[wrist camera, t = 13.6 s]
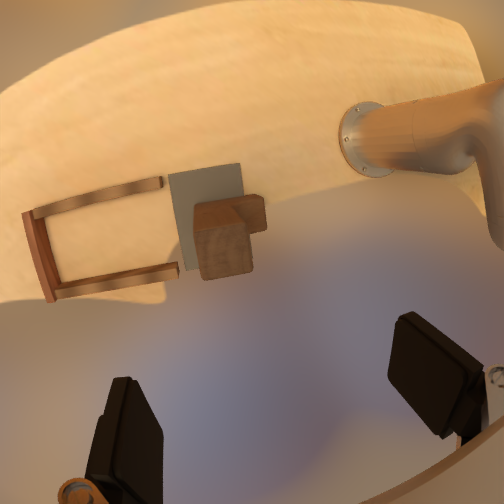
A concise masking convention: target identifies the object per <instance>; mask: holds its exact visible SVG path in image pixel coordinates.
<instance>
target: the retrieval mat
mask: <svg viewBox="0 0 504 504" xmlns="http://www.w3.org/2000/svg"><path fill="white" fill-rule="evenodd" d="M168 178H169V185H170V191H171V196H172V202H173V208H174V213H175V219H176V224H177V229H178V235H179V240H180V245H181V249H182V254H183V259H184V264H185V268H186V271H187V270H192V269H198V268H199V264H198V259H197V253H196V248H195V243H194V238H193V216H194V205H195V204H197V203H203V202H209V201H215V200H221V199H227V198H233V197H239V196H244V191H243V184H242V176H241V169H240V163H236V164H229V165H222V166H216V167H209V168H203V169H197V170H192V171H186V172H181V173H175V174H170V175H168ZM249 239H250V235H249ZM250 246H251V242H250ZM251 254H252V249H251ZM252 258H253V256H252Z"/></svg>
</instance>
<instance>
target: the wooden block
mask: <svg viewBox="0 0 504 504" xmlns="http://www.w3.org/2000/svg"><path fill="white" fill-rule="evenodd" d="M266 229H267V222H266V214H265V206H264V199H263V197H261V196H259V195H256V194H252V195H245V196H239V197H233V198H227V199H221V200H215V201H209V202H203V203H197V204H195V205H194V216H193V238H194V243H195V248H196V253H197V259H198V264H199V269H200V274H201V278H202V279H203V280H213V279H218V278H224V277H229V276H234V275H239V274H245V273H250V272H252V271H253V261H252V254H251V246H250V239H249V234H252V233H256V232H261V231H265V230H266Z"/></svg>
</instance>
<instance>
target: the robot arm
mask: <svg viewBox="0 0 504 504" xmlns="http://www.w3.org/2000/svg"><path fill="white" fill-rule="evenodd" d="M344 139H345V141H344ZM339 141H340V146H341V150H342V152H343V154H344V157H345V158H346V160H347V162H348V163H349V164H350V165H351V167H352V168H353V169H355V170H356V171H357V172H358V173H360V174H362V175H364V176H368V177H374V178H378V177H384V176H387V175H389V174H390V173H392V172H393V171H394V170H395V169H396V170H408V171H418V172H428V173H436V174H444V175H454V174H458V173H460V172H463V171H464V170H466V169H467V168H468V167H470V166H471V165H472V164H473V163H474V161H475V160H476V162H477V166H478V170H479V175H480V177H481V182H482V188H483V194H484V201H485V208H486V216H487V223H488V229H489V233H490V236H491V238H492V240H493V242H494V243H495V244H496V246H497V247H499V248H500V249H501V250H503V251H504V79H498V80H494V81H490V82H488V83H484V84H481V85H479V86H476V87H473V88H470V89H467V90H463V91H460V92H456V93H451V94H447V95H442V96H436V97H431V98H425V99H420V100H415V101H410V102H405V103H400V104H395V105H391V106H386V107H384V106H383V105H381V104H378V103H375V102H362V103H359V104H356V105H354V106H353V107H351V108H350V109H349V110H348V111H347V112H346V113H345V115H344V117H343V119H342V121H341V124H340V129H339ZM362 168H363V170H362ZM483 367H484V365H483V364H481V363H480V362H479V361H478V360H476V359H475V358H474V357H472V356H471V355H470V354H469V353H468V352H466V351H465V350H464V349H463V348H461V347H460V346H459V345H457V344H456V343H455V342H454V341H452V340H451V339H450V338H448V337H447V336H446V335H444V334H443V333H442V332H441V331H439V330H438V329H437V328H435V327H434V326H433V325H431V324H430V323H429V322H427V321H426V320H425V319H424V318H422V317H421V316H420V315H418V314H417V313H415V312H413V311H412V312H409V313H406V314H403V315H401V316H399V318H398V321H396V323H395V329H394V337H393V344H392V350H391V356H390V363H389V368H388V379H389V381H390V382H391V384H392V385H393V386H394V387H395V388H396V389H397V391H398V392H399V393H400V394H401V395H402V397H403V398H404V399H405V400H406V401H407V403H408V404H409V405H410V406H411V407H412V408H413V410H414V411H415V412H416V413H417V414H418V416H419V417H420V418H421V419H422V420H423V421H424V423H425V424H426V425H427V426H428V427H429V429H430V430H431V431H432V432H433V433H434V434H435V435H439V436H440V438H441V439H444V438H446V437H448V436H449V435H451V434H452V433H453V432H455V433H456V434H457V442H456V451H455V452H453V453H452V454H450V455H449V456H447V457H446V458H444V459H443V460H441V461H440V462H438V463H437V464H435V465H434V466H432V467H430V468H428V469H427V470H425V471H423V472H422V473H420V474H418V475H416V476H415V477H413V478H411V479H409V480H407V481H405V482H404V483H402V484H400V485H398V486H396V487H394V488H392V489H390V490H388V491H386V492H384V493H381V494H379V495H377V496H375V497H373V498H370V499H368V500H366V501H364V502H361V503H359V504H504V364H494V365H491V366H489V367H488V368H487V370H486V372H483V371H482V370H483ZM163 440H164V437H163V431H162V428H161V427H160V425H159V423H158V421H157V419H156V417H155V415H154V413H153V412H152V410H151V408H150V406H149V404H148V402H147V400H146V398H145V396H144V394H143V391H142V389H141V387H140V385H139V383H138V381H137V380H132V378H131V377H117V378H114V379H113V382H112V385H111V389H110V392H109V395H108V399H107V403H106V406H105V410H104V414H103V415H101V416H100V417H99V419H98V422H97V426H96V430H95V434H94V438H93V442H92V446H91V450H90V454H89V459H88V463H87V468H86V473H85V478H73V479H70V480H68V481H66V482H65V483H64V484H63V485H62V486H61V488H60V489H59V492H58V502H59V504H163V442H164V441H163Z"/></svg>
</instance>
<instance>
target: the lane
mask: <svg viewBox="0 0 504 504" xmlns="http://www.w3.org/2000/svg"><path fill="white" fill-rule="evenodd" d="M162 187H163V184H162V178H161V176H160V177H155V178H150V179H146V180H141V181H136V182H132V183H127V184H123V185H119V186H115V187H111V188H107V189H103V190H99V191H95V192H91V193H87V194H83V195H80V196H76V197H73V198H69V199H66V200H62V201H59V202H55V203H52V204H49V205H46V206H42V207H39V208H36V209H33V210H30V211H27V212H24V213H21V214H22V219H23V223H24V228H25V232H26V236H27V240H28V244H29V247H30V251H31V255H32V258H33V262H34V265H35V268H36V272H37V275H38V278H39V281H40V284H41V287H42V290H43V292H44V295H45V298H46V301H47V303H53V302H55V301H56V300H57V299H63V298H69V297H75V296H81V295H87V294H93V293H98V292H104V291H110V290H116V289H121V288H127V287H133V286H139V285H144V284H150V283H155V282H161V281H167V280H172V279H177V278H179V267H178V262H172V263H166V264H161V265H155V266H150V267H145V268H139V269H134V270H129V271H123V272H118V273H113V274H107V275H102V276H97V277H91V278H86V279H81V280H75V281H70V282H65V283H61V281H60V278H59V275H58V271H57V268H56V265H55V261H54V258H53V254H52V251H51V247H50V243H49V239H48V235H47V231H46V227H45V223H44V218H43V217H46V216H49V215H52V214H56V213H59V212H63V211H67V210H70V209H74V208H78V207H81V206H85V205H89V204H93V203H97V202H101V201H105V200H109V199H113V198H118V197H122V196H126V195H131V194H135V193H140V192H145V191H149V190H154V189H159V188H162Z"/></svg>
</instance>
